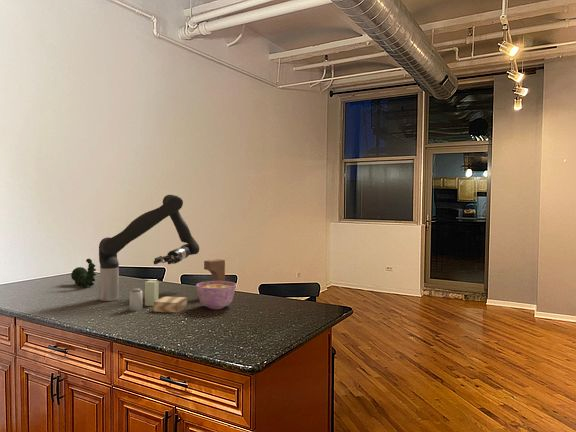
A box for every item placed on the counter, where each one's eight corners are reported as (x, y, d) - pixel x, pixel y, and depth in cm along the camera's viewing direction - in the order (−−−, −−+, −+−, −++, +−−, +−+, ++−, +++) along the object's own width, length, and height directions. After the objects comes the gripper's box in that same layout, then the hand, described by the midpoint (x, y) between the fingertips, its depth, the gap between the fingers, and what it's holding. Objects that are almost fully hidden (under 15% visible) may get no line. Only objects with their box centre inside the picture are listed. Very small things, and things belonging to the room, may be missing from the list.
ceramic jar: (127, 310, 207) (127, 290, 207) (133, 307, 213) (133, 287, 213) (139, 311, 206) (139, 290, 206) (144, 308, 212) (144, 288, 212)
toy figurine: (99, 289, 264) (81, 281, 280) (100, 259, 262) (82, 252, 278) (83, 292, 257) (66, 283, 273) (85, 261, 255) (67, 253, 271)
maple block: (153, 311, 207) (153, 301, 207) (164, 306, 219) (164, 296, 218) (177, 313, 205) (177, 302, 205) (186, 307, 217) (186, 297, 217)
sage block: (144, 305, 218) (144, 282, 218) (149, 303, 223) (149, 280, 223) (154, 305, 217) (154, 282, 217) (158, 303, 222) (158, 280, 222)
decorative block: (209, 297, 238) (209, 261, 238) (203, 296, 242) (203, 260, 242) (225, 294, 246) (225, 260, 246) (219, 293, 250) (219, 259, 249)
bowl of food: (220, 300, 230) (220, 279, 230) (244, 307, 216) (244, 284, 216) (188, 306, 216) (188, 284, 216) (210, 314, 202) (211, 289, 202)
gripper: (165, 249, 248) (148, 256, 233) (187, 248, 244) (172, 255, 229) (166, 262, 249) (150, 269, 234) (188, 261, 245) (173, 269, 230)
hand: (161, 262), depth 231 cm, fingers open, 8 cm apart
